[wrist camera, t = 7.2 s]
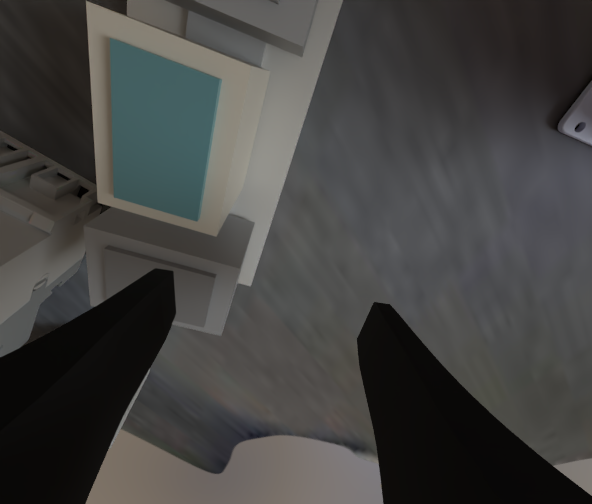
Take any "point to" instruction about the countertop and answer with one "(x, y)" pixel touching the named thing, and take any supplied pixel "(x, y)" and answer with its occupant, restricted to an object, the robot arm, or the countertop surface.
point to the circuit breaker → (37, 234)
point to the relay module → (169, 121)
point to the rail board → (261, 169)
